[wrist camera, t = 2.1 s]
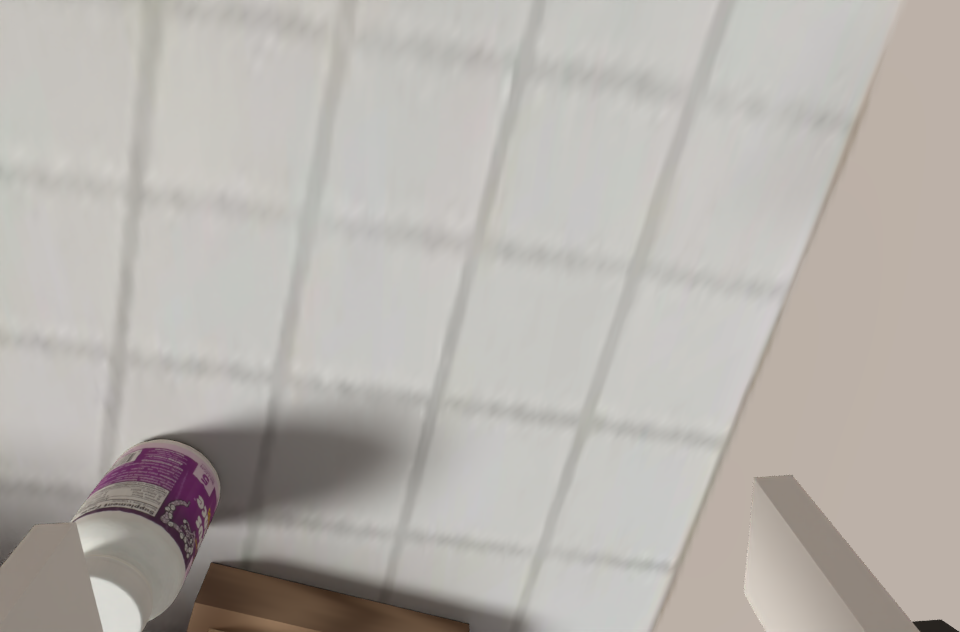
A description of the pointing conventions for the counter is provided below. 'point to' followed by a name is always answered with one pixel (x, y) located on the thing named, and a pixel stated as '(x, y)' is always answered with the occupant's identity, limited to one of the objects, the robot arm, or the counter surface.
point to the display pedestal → (296, 608)
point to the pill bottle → (146, 530)
